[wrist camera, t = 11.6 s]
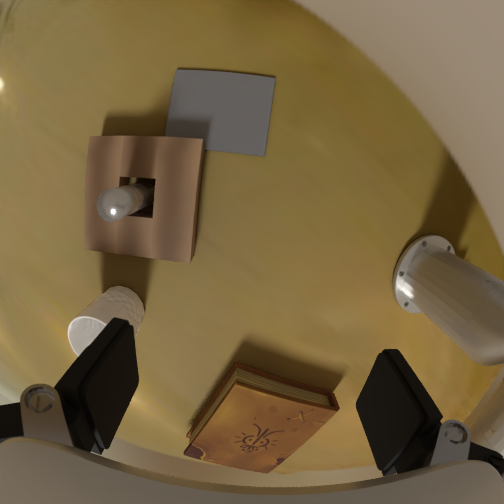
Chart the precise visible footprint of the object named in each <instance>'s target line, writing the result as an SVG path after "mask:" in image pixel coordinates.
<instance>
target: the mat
mask: <svg viewBox="0 0 504 504" xmlns="http://www.w3.org/2000/svg"><path fill="white" fill-rule="evenodd" d="M274 85H275V78H271V77H265V76H257V75H250V74H241V73H231V72H220V71H204V70H176V73H175V78H174V83H173V88H172V93H171V99H170V105H169V111H168V117H167V124H166V131H165V137H181V138H196V139H203V140H205V141H206V142H205V150H213V151H223V152H232V153H240V154H248V155H256V156H263V157H265V149H266V142H267V135H268V128H269V121H270V114H271V106H272V99H273V92H274Z"/></svg>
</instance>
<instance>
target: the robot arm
mask: <svg viewBox="0 0 504 504" xmlns="http://www.w3.org/2000/svg"><path fill="white" fill-rule="evenodd" d="M393 292H394V296H395V299H396V301H397V302H398V304H399V305H400V306H401V307H402V308H403V309H405V310H406V311H408V312H411V313H422V312H423V313H424V314H425V315H426V316H427V317H428V318H429V319H430V320H431V321H433V322H434V323H435V324H436V325H437V326H438V327H439V328H440V329H441V330H442V331H443V332H444V333H445V334H446V335H447V336H448V337H449V338H451V339H452V340H453V341H454V342H455V343H456V344H457V345H458V346H459V347H460V348H461V349H462V350H463V351H464V352H465V353H466V354H467V355H468V356H469V357H470V358H471V359H472V360H473V361H475V362H476V363H478V364H481V365H485V366H492V365H499V364H503V363H504V281H502V280H500V279H499V278H497V277H495V276H493V275H492V274H490V273H488V272H486V271H484V270H483V269H481V268H479V267H477V266H475V265H473V264H472V263H470V262H468V261H466V260H464V259H462V258H460V257H458V256H456V255H455V251H454V249H453V247H452V245H451V244H450V242H449V241H448V240H446V239H445V238H443V237H441V236H438V235H434V234H431V235H425V236H422V237H420V238H418V239H416V240H415V241H414V242H413V243H411V244H410V245H409V246H408V247H407V249H406V250H405V251H404V252H403V254H402V255H401V257H400V259H399V261H398V263H397V265H396V268H395V271H394V276H393ZM138 383H139V375H138V367H137V359H136V349H135V338H134V327H133V325H130V323H129V321H128V320H125V319H121V318H116V317H114V318H112V319H111V321H110V322H109V323H108V324H107V325H106V326H105V327H104V329H103V330H102V331H101V332H100V333H99V335H98V336H97V337H96V338H95V339H94V341H93V342H92V343H91V344H90V345H89V346H87V347H86V348H85V349H84V350H83V352H82V353H81V354H80V355H79V357H78V358H77V359H76V360H75V361H74V363H73V364H72V365H71V366H70V368H69V369H68V370H67V371H66V373H65V374H64V375H63V376H62V378H61V379H60V380H59V382H58V383H57V384H56V385H55V387H54V388H53V387H51V386H50V385H46V384H34V385H31V386H29V387H28V388H26V389H25V390H24V391H23V393H22V395H21V397H20V402H18V403H12V404H7V405H0V504H504V378H503V380H502V382H501V383H500V385H499V386H498V388H497V389H496V391H495V392H494V394H493V395H492V397H491V398H490V399H489V401H488V402H487V403H486V405H485V406H484V407H483V409H482V410H481V411H480V413H479V414H478V415H477V417H476V418H475V419H474V421H473V422H472V423H471V425H470V427H469V428H467V427H466V425H464V424H463V423H462V422H459V421H457V420H447V421H445V422H444V423H443V424H442V423H441V422H440V420H441V419H442V418H443V416H442V414H441V412H440V411H439V409H438V408H437V406H436V405H435V403H434V401H433V400H432V398H431V397H430V395H429V394H428V392H427V391H426V389H425V388H424V386H423V385H422V383H421V382H420V380H419V379H418V377H417V376H416V374H415V373H414V371H413V370H412V368H411V367H410V366H409V364H408V363H407V361H406V360H405V358H404V357H403V355H402V354H401V353H400V351H399V350H398V349H384V350H383V351H382V353H379V354H378V356H377V358H376V361H375V363H374V365H373V368H372V370H371V372H370V374H369V376H368V378H367V381H366V383H365V385H364V387H363V389H362V391H361V393H360V395H359V397H358V399H357V402H356V409H357V412H358V414H359V417H360V420H361V422H362V425H363V428H364V431H365V433H366V436H367V439H368V442H369V445H370V447H371V450H372V453H373V456H374V459H375V462H376V465H377V468H378V469H379V470H381V471H382V474H383V476H386V477H381V478H376V479H371V480H365V481H359V482H352V483H344V484H335V485H324V486H310V487H251V486H237V485H226V484H216V483H209V482H202V481H196V480H190V479H184V478H179V477H174V476H169V475H164V474H160V473H156V472H152V471H148V470H145V469H140V468H137V467H133V466H130V465H126V464H123V463H120V462H117V461H113V460H110V459H107V458H104V457H102V456H99V455H96V454H93V453H90V452H91V451H92V452H95V453H97V454H100V455H101V454H102V452H103V450H104V449H108V448H109V447H110V444H111V442H112V440H113V438H114V436H115V433H116V431H117V429H118V427H119V425H120V423H121V420H122V418H123V416H124V414H125V412H126V410H127V408H128V405H129V403H130V401H131V399H132V397H133V395H134V393H135V391H136V389H137V386H138ZM396 473H397V474H396ZM393 474H395V475H393ZM389 475H391V476H389Z"/></svg>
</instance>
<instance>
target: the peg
mask: <svg viewBox="0 0 504 504" xmlns="http://www.w3.org/2000/svg"><path fill="white" fill-rule="evenodd" d="M154 193H155V188H154V187H153V185H151V184H150V183H147V182H143V183H137V184H132V185H127V186H122V187H117V188H112V189H108V190H105V191H103V192H102V193H101V194H100V196H99V197H98V200H97V210H98V213H99V215H100V216H101V218H103V219H104V220H105V221H108V222H114V221H117V220H119V219H121V218H123V217H125V216H127V215H129V214H132V213H134V212H136V211H138V210H140V209H142V208H144V207H147V206H149V205H151V204H152V203H153V202H154Z"/></svg>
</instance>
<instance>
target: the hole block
mask: <svg viewBox="0 0 504 504" xmlns="http://www.w3.org/2000/svg"><path fill="white" fill-rule="evenodd" d="M205 142H206V141H205V140H203V139H196V138H181V137H161V136H90V139H89V147H88V157H87V169H86V185H85V249H86V250H93V251H100V252H108V253H115V254H123V255H130V256H138V257H145V258H153V259H161V260H169V261H177V262H185V263H191V261H192V258H193V256H194V250H195V237H196V226H197V215H198V205H199V195H200V186H201V177H202V169H203V161H204V153H205ZM129 177H138V178H153V179H156V181H155V193H154V206H153V213H144V212H134V213H132V214H129V215H127V216H125V217H123V218H121V219H119V220H117V221H114V222H108V221H105V220H104V219H103V218H101V216H100V215H99V213H98V210H97V200H98V197H99V196H100V194H101V193H102V192H103V191H105V190H108V189H112V188H117V187H122V186H127V185H128V183H129Z"/></svg>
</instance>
